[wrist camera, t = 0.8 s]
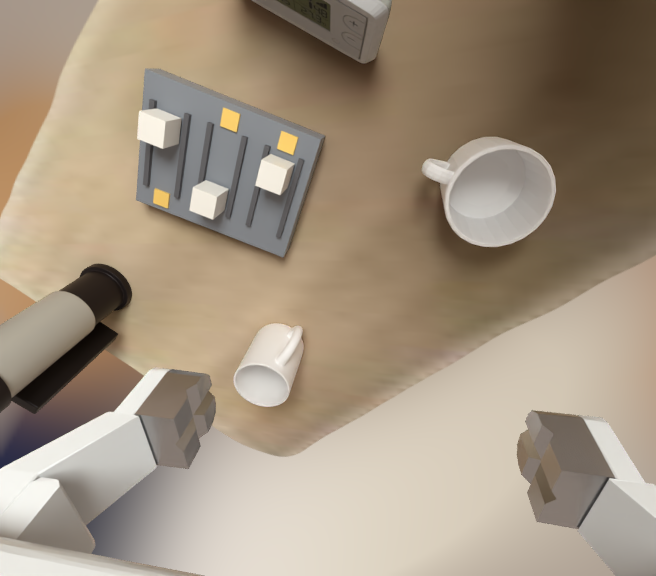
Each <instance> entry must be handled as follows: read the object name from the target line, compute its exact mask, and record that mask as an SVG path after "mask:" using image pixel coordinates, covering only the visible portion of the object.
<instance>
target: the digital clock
mask: <svg viewBox="0 0 656 576" xmlns="http://www.w3.org/2000/svg"><path fill="white" fill-rule="evenodd" d="M252 1H253V2H255V3H257V4H258V5H260V6H262V7H264V8H265V9H267V10H269V11H271V12H272V13H274V14H276V15H278V16H279V17H281V18H283V19H285V20H286V21H288V22H290V23H292V24H293V25H295V26H297V27H299V28H300V29H302V30H304V31H306V32H307V33H309V34H311V35H312V36H314V37H316V38H318V39H319V40H321V41H323V42H325V43H326V44H328V45H330V46H332V47H333V48H335V49H337V50H339V51H340V52H342V53H344V54H346V55H347V56H349V57H351V58H353V59H355V60H356V61H358V62H360V63H363V64H364V63H367V62H370V61H372V60H374V59H375V58H376V55H377V53H378V50H379V47H380V43H381V40H382V37H383V34H384V31H385V27H386V24H387V21H388V18H389V14H390V10H391V4H392V1H391V0H252Z"/></svg>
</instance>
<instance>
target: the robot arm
mask: <svg viewBox="0 0 656 576" xmlns="http://www.w3.org/2000/svg"><path fill="white" fill-rule="evenodd" d="M211 385H212V383H211V380H210V376H209V375H207V374H203V373H196V372H189V371H182V370H174V369H165V368H158V367H155V368H153V369H151V370H149V371H148V372H147V374H146V375H145V376H144V377H143V378H142V380H141V381H140V382H139V383H138V384H137V385H136V387H135V388H134V389H133V390H132V391H131V392H130V394H129V395H128V396H127V397H126V398H125V400H124V401H123V402H122V403H121V404H120V405H119V407H118V408H117V409H116V410H115V411H114V412H107V413H105V414H103V415H101V416H99V417H97V418H96V419H94V420H92V421H90V422H88V423H86V424H84V425H82V426H80V427H79V428H77V429H75V430H73V431H71V432H69V433H67V434H66V435H63V436H62V437H60V438H58V439H56V440H54V441H52V442H50V443H48V444H46V445H45V446H43V447H41V448H39V449H37V450H35V451H33V452H31V453H29V454H28V455H26V456H24V457H22V458H20V459H18V460H16V461H14V462H12V463H11V464H9V465H7V466H5V467H3V468H1V469H0V576H203V575H197V574H193V573H187V572H182V571H177V570H172V569H166V568H161V567H156V566H151V565H145V564H140V563H135V562H130V561H125V560H120V559H115V558H109V557H104V556H99V555H94V554H91V553H92V551H93V549H94V548H95V541H94V539H93V537H92V535H91V534H90V532H89V530H88V529H87V527H86V525H87V524H88V523H89V522H91V521H92V520H93V519H94V518H95V517H97V516H98V515H99V514H100V513H102V512H103V511H104V510H105V509H106V508H107V507H109V506H110V505H111V504H113V503H114V502H115V501H116V500H117V499H119V498H120V497H121V496H122V495H124V494H125V493H126V492H127V491H128V490H130V489H131V488H132V487H133V486H135V485H136V484H137V483H138V482H139V481H141V480H142V479H143V478H144V477H145V476H147V475H148V474H149V473H151V472H152V471H153V470H154V469H155V468H156V467H157V465H160V466H169V467H177V468H185V469H189V467H190V465H191V463H192V461H193V459H194V458H195V456H196V454H197V452H198V450H199V448H200V442H199V438H200V437H201V436H203V435H204V434H206V433H207V432H208V431H209V429H210V427H211V425H212V423H213V420H214V416H215V412H216V402H215V397H214V396H213V395H212V394H211V393H210V392H209V391H208V390H209V389H210V387H211ZM525 422H526V425H527V427H528V430H526V431H525V432H523V433H521V434H520V437H519V440H518V444H517V458H518V465H519V468H520V471H521V475H523V477H524V478H525V479H527V481H528V482H529V483H530V484H531V485H530V487H529V490H528V492H527V493H528V497H529V500H530V503H531V506H532V509H533V512H534V515H535V518H536V521H537V522H542V523H547V524H553V525H558V526H564V527H569V528H576V529H578V532H579V533H580V534H581V536H582V537H583V538H584V539H585V540H586V542H587V543H588V544H589V545H590V546H591V547H592V549H593V550H594V551H595V552H596V553H597V554H598V555H599V557H600V558H601V559H602V560H603V561H604V562H605V564H606V565H607V566H608V567H609V568H610V570H611V571H612V572H613V573H614V574H615V575H616V576H656V486H655V485H654V484H648V483H645V482H644V480H643V478H642V477H641V475H640V474H639V472H638V470H637V469H636V467H635V466H634V464H633V462H632V461H631V459H630V458H629V456H628V455H627V453H626V451H625V450H624V448H623V446H622V445H621V443H620V442H619V440H618V439H617V437H616V435H615V434H614V432H613V430H612V429H611V427H610V425H609V424H608V422H607V421H606V420H604V419H603V418H600V417H591V416H581V415H577V416H576V415H571V414H561V413H552V412H542V411H533V410H532V411H531V412H530V413H529V414H528V416H527V418H526V421H525Z"/></svg>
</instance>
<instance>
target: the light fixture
mask: <svg viewBox="0 0 656 576" xmlns="http://www.w3.org/2000/svg"><path fill="white" fill-rule="evenodd" d="M131 296H132V292H131V288H130V285H129V283H128V281H127V280H126V279H125V277H124V276H123V275H122V274H121V273H120V272H118V271H117V270H116V269H114V268H112V267H110V266H108V265H104V264H94V265H91V266H89V267H87V268H86V269H84V270H83V271H82V273H81V275H80V278H78V279H77V280H75V281H74V282H72V283H70V284H69V285H67V286H66V287H64V288H63V289H61V290H59V291H55V292H52V293H50V294H49V295H47V296H46V297H44V298H42V299H41V300H39V301H38V302H36V303H35V304H33V305H31V306H30V307H28V308H26V309H25V310H23V311H22V312H20V313H19V314H17V315H15V316H14V317H12V318H11V319H9V320H7V321H6V322H5V323H3V324H1V325H0V412H1V411H3V410H4V409H5V408H6V407H8V406H9V404H10V403H11V401H13V402H15V403H17V404H18V405H20V406H21V407H23V408H25V409H27V410H29V411H30V412H32V413H34V414H35V413H37V412H38V411H39V410H40V409H41V408H42V407H43V406H44V405H45V404H47V403H48V402H49V401H50V400H51V399H52V398H53V397H54V396H55V395H56V394H57V393H58V392H59V391H60V390H61V389H63V388H64V387H65V386H66V385H67V384H68V383H69V382H70V381H71V380H72V379H73V378H74V377H75V376H77V375H78V374H79V373H80V372H81V371H82V370H83V369H84V368H85V367H86V366H87V365H88V364H89V363H90V362H91V361H93V360H94V359H95V358H96V357H97V356H98V355H99V354H100V353H101V352H102V351H103V350H104V349H105V348H106V347H108V346H109V345H110V344H111V343H112V342H113V341H114V340H115V339H116V337H117V335H118V333H116V332H115V331H113V330H112V329H110V328H109V327H107V326H106V325H104V324H102V323H101V322H100V321H101V320H102V319H104V318H105V317H106V316H107V315H108V314H110V313H111V312H112V311H116V310H120V309H122V308H123V307H125V306H126V305H127V304H128V303H129V302H130V300H131Z"/></svg>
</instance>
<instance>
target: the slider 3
mask: <svg viewBox="0 0 656 576" xmlns="http://www.w3.org/2000/svg"><path fill="white" fill-rule="evenodd" d="M294 165H295V163H292V162H290V161H287V160H285V159H282V158H280V157H277V156H275V155H272V154H270V155H268V156H267V157H265V158H263V159H262V160H261V164H260V168H259V172H258V176H257V180H256V184H255V186H258V187H260V188H263V189H265V190H268V191H270V192H273V193H275V194H278V195H281V194H282V193H283V192H284V191H285V190H286V189H287V188H288V185H289V182H290V178H291V175H292V172H293V168H294Z"/></svg>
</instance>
